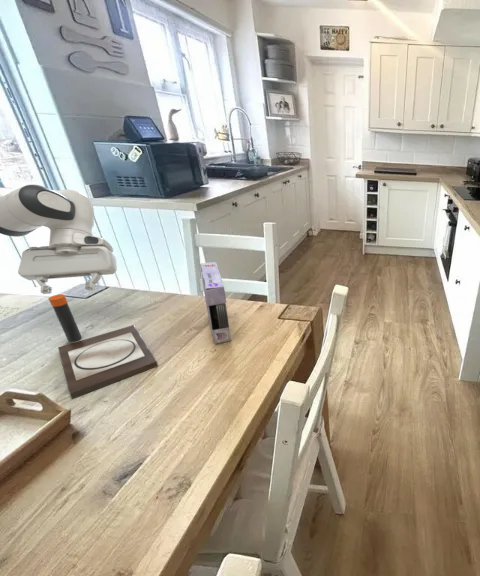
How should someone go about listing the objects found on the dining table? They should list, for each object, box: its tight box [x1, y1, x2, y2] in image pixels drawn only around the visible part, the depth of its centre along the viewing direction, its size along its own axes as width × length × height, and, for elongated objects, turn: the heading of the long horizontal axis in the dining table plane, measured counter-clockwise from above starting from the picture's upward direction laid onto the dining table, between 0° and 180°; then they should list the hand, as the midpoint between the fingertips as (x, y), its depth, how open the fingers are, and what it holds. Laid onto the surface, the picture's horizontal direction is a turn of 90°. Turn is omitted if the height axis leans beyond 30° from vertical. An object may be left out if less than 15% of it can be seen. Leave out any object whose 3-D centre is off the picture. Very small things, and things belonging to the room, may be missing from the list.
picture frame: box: [57, 324, 159, 399], centre depth 81 cm, size 22×16×2 cm
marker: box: [48, 293, 83, 343], centre depth 85 cm, size 3×3×13 cm
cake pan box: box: [199, 261, 232, 345], centre depth 93 cm, size 19×5×18 cm, turn 31°
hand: (68, 291), depth 87 cm, fingers open, 8 cm apart
